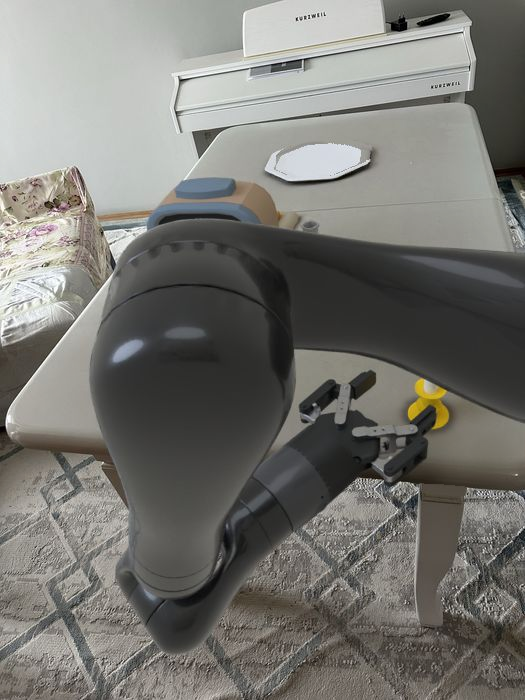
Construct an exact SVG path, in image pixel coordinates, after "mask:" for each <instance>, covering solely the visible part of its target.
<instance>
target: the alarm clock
mask: <svg viewBox="0 0 525 700" xmlns="http://www.w3.org/2000/svg"><path fill="white" fill-rule="evenodd" d="M277 211H278V210H277V207H276V203H275V201H274V199H273V197H272V195H271V194H270V192H268V191H267V189H265V188H264V187H263V186H261V185H259V184H257V183H256V182H250V181H242V180H235V179H234V178H231V177H230V178H229V177H212V176H211V177H199V178H198V177H197V178H190V179H183V180H181V181H180V182H179V183H178V184H177V185H176V186H175V187H173V188H172V189H171V190H170V191H169V192H168V193H167V195H166V196H165V197H164V198H163V199H162V201H161V202H159V204H158V205H157V206H156V207H155V208H154V210H153V211H152V212H151V213H150V214H149V216H148V219H147V221H146V231H148V230H150V229H152V228H154V227H156V226H159V225H162V224H166V223H170V222H173V221H178V220H186V219H224V220H233V221H241V222H248V223H256V224H262V225H269V226H275V227H279V223H278V216H277Z"/></svg>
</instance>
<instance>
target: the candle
mask: <svg viewBox="0 0 525 700" xmlns="http://www.w3.org/2000/svg"><path fill="white" fill-rule="evenodd" d="M414 391H415V394H417V395H418V396H419V397H418V398H417V400H416V401H415V402H413V403H412V404H411V405H410V406H409V407H408V410H407V416H408V419H409V421H411V420H413V419H414V418H415V417H416V416H417V415H418V414H419V413H420V412H422V411H423V410H424V409H425V408H426V407H427V406H428V405H432V406H434V407H436V414H437V417H436V424H435V426H434V427H433V428H431V430H438V429H441V428H442V427H444V426H446V424H447V423H448V422H449V419H450V412H449V410H448V408H447V407H446V406H445V405H444V404H443V403H442V400H441V398H443V397H444V396H446V394H447V391H446V390H444V389H442V388H441V387H439V386H437V385H435V384H433V383H431V382H429V381H427V380H425V379H423V378H420V379H418V380H417V381H416V382H415V383H414Z"/></svg>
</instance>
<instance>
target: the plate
mask: <svg viewBox="0 0 525 700" xmlns="http://www.w3.org/2000/svg"><path fill="white" fill-rule="evenodd" d="M283 149H284V148H282V149H279V150H277V151H274V152H273V153H271V155H270V157H269V159H268V162H267V163H266V165H265V166H264V171H265V172H266V173H268V174H270V175H272V176H275V177H277V178H279V179H281V180H283V181H285V182H288V183H289V182H290V183H299V182H315V181H317V182H318V181H332V180H337V179H339V178H341V177H344V176H345V174H346V175H348V174H350V173H352V172H351V171H353V172H355V171H357V170H359V169H358V168H360V167H362V166H364V165H366V164H368V162H370V163H371V159H369V160H366V162H364V163H362V164H359V165H357V164H358V163H359V162H360V157H361V150H360V149H358V148H355V147H352V146H349V145H348V146H347V145H345V144H344V145H341V144H338V145H337V144H334V143H333V144H332V143H328V144H315V145H307V146H304V147H301V148H299V149H296V150H294V151H291V152H289V153H286V154H284V155H282V156H281V157H280V159H279V161H278V163H277V165H276V155H277V154H278V153H279V152H280V151H281V150H283ZM275 165H276V170H278V171H276V170H274V167H275ZM355 165H357V166H355ZM368 165H369V164H368ZM352 166H355V167H352ZM366 166H367V165H366ZM350 167H352V168H350ZM364 167H365V166H364ZM348 168H349V169H348ZM362 168H363V167H362ZM345 169H347V170H345ZM356 169H357V170H356ZM360 169H361V168H360ZM343 170H345V171H343ZM354 170H355V171H354ZM279 171H280V172H279ZM341 171H343V172H341ZM281 172H283V173H285V174H287V175H285V174H283V173H281ZM338 172H340V173H338ZM336 173H338V174H336ZM334 174H335V175H334ZM330 175H331V176H330ZM343 175H344V176H343Z"/></svg>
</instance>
